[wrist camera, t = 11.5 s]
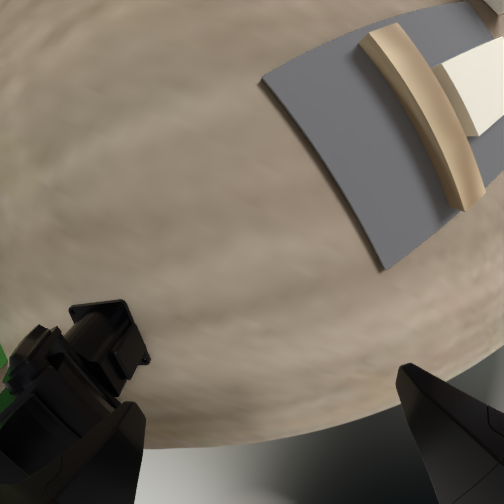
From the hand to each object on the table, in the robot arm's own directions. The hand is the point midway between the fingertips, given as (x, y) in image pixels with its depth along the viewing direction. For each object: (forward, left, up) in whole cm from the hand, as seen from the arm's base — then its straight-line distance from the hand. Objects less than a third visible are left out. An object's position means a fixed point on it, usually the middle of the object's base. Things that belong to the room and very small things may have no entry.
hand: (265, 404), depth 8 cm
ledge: (+14, +9, -12) cm, 20 cm away
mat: (+18, +11, -12) cm, 24 cm away
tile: (+23, +13, -10) cm, 28 cm away
